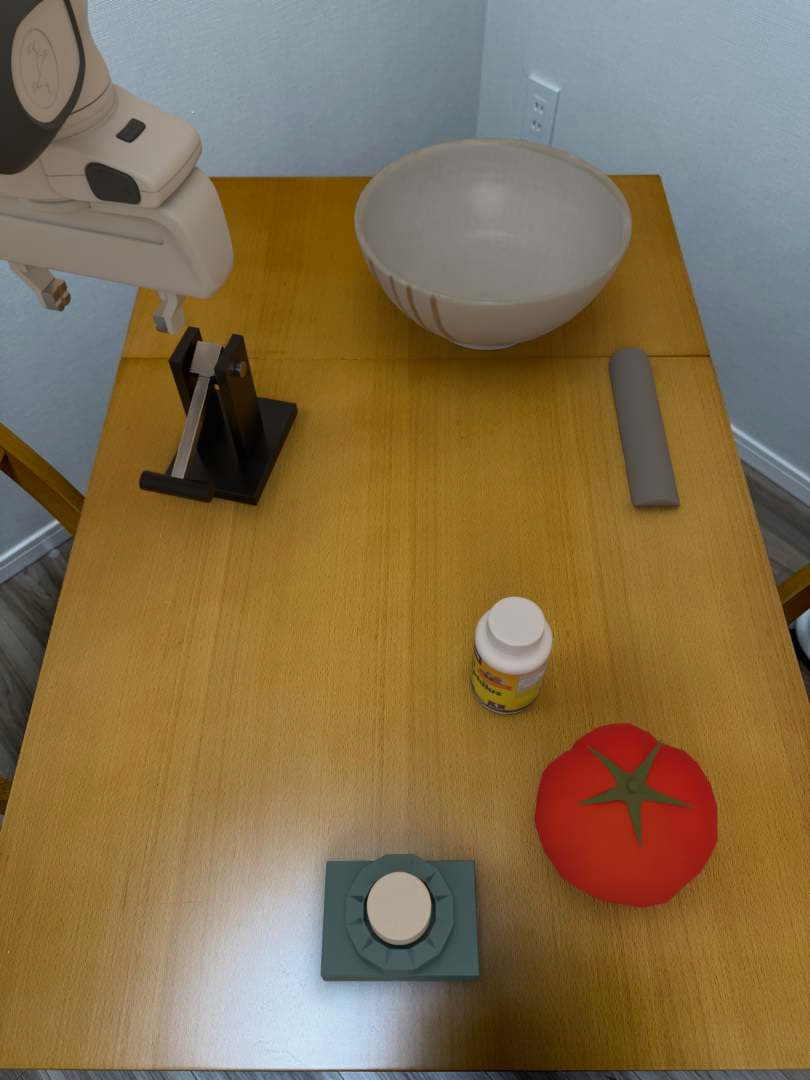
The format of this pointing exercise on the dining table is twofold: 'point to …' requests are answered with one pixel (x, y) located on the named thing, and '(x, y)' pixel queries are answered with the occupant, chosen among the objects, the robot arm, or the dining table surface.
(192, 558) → the dining table surface
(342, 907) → the push button box
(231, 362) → the lever stand
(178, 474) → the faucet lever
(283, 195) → the dining table surface
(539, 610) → the supplement bottle
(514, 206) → the decorative bowl
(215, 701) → the dining table surface
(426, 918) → the beige push button
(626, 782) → the tomato
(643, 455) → the gray half cylinder
